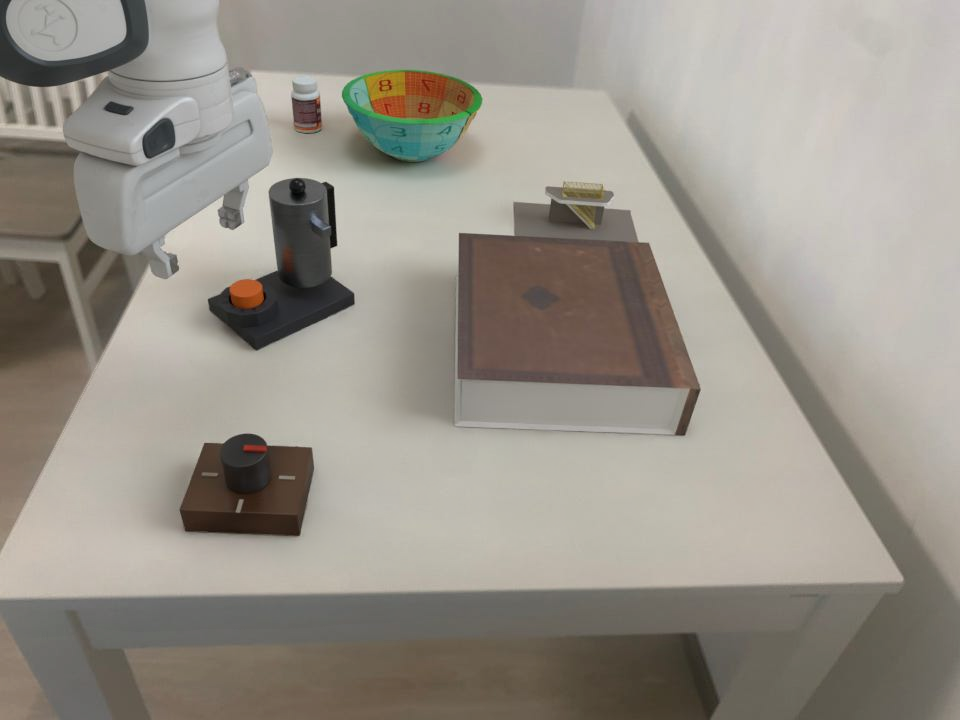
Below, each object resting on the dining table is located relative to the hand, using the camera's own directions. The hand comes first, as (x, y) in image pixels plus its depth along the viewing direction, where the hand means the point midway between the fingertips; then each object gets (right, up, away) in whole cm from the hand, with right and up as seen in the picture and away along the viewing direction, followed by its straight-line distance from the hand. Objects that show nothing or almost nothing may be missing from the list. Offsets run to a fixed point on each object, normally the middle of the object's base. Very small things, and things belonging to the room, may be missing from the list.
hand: (201, 248), depth 70 cm
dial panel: (+4, -23, +1) cm, 23 cm away
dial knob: (+5, -21, -1) cm, 21 cm away
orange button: (-2, -3, +19) cm, 19 cm away
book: (+35, -9, +22) cm, 42 cm away
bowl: (+14, +24, +59) cm, 66 cm away
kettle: (+5, 0, +23) cm, 24 cm away
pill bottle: (-5, +30, +64) cm, 71 cm away
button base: (+1, -4, +24) cm, 24 cm away
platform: (+39, +10, +44) cm, 60 cm away
